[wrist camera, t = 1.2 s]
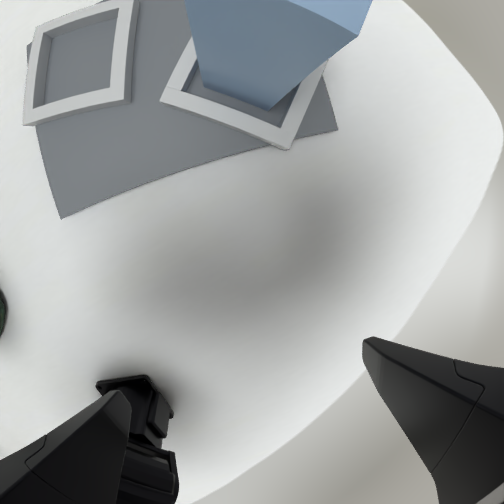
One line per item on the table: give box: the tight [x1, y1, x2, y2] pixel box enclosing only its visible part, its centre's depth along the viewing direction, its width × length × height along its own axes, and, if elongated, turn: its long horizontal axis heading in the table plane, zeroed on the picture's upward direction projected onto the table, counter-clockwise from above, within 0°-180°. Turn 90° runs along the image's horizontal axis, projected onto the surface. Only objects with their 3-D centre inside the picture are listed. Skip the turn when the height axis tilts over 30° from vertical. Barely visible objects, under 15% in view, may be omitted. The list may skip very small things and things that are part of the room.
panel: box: [23, 0, 338, 219], centre depth 15 cm, size 22×17×2 cm
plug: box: [184, 0, 372, 111], centre depth 10 cm, size 5×4×13 cm
